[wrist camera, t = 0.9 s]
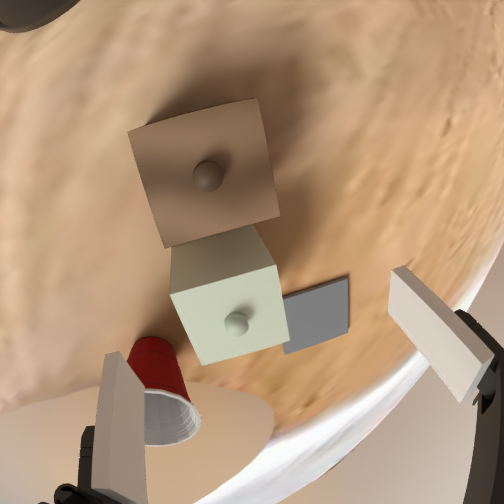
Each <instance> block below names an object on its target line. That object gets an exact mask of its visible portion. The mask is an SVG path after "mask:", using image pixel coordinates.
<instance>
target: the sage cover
mask: <svg viewBox="0 0 504 504" xmlns="http://www.w3.org/2000/svg"><path fill="white" fill-rule="evenodd" d="M170 297H171V299H172V301H173V304H174V306H175V308H176V311H177V313H178V315H179V317H180V320H181V322H182V324H183V326H184V328H185V331H186V333H187V335H188V337H189V339H190V341H191V344H192V346H193V348H194V350H195V352H196V354H197V356H198V358H199V360H200V362H201V364H202V366H203V365H207V364H211V363H215V362H219V361H222V360H226V359H230V358H233V357H237V356H241V355H244V354H248V353H251V352H255V351H258V350H261V349H265V348H268V347H271V346H274V345H278V344H281V343H284V342H287V341H290V338H289V332H288V326H287V321H286V315H285V309H284V304H283V298H282V293H281V287H280V282H279V276H278V271H277V265H276V263H275V261H274V260H273V258H272V256H271V254H270V253H269V251H268V249H267V248H266V246H265V244H264V242H263V241H262V239H261V237H260V236H259V234H258V232H257V230H256V229H255V227H254V225H253V224H252V225H248V226H245V227H241V228H237V229H234V230H230V231H226V232H223V233H219V234H216V235H212V236H209V237H205V238H202V239H198V240H195V241H191V242H188V243H184V244H181V245H177V246H174V247H172V251H171V271H170Z"/></svg>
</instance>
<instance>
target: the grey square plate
mask: <svg viewBox="0 0 504 504" xmlns="http://www.w3.org/2000/svg"><path fill="white" fill-rule="evenodd" d="M282 298H283V304H284V309H285V315H286V321H287V326H288V332H289V338H290V341H287V342H284V343H282V345H283V350H284V354H285V355H286V354H289V353H292V352H295V351H298V350H301V349H304V348H307V347H310V346H313V345H316V344H319V343H321V342H324V341H327V340H330V339H333V338H335V337H338V336H341V335H343V334H346V333H348V278H347V277H346V276H345V277H342V278H339V279H336V280H333V281H330V282H327V283H324V284H321V285H318V286H315V287H312V288H309V289H306V290H302V291H299V292H296V293H293V294H290V295H286V296H283V297H282Z"/></svg>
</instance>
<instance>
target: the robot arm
mask: <svg viewBox="0 0 504 504" xmlns="http://www.w3.org/2000/svg"><path fill="white" fill-rule="evenodd" d="M78 1H79V0H0V30H2V31H5V32H9V33H22V32H27V31H31V30H34V29H36V28H39V27H41V26H44V25H46V24H48V23H49V22H51V21H53V20H55V19H56V18H58V17H59V16H61V15H62V14H64V13H65V12H66V11H68V10H69V9H70V8H71V7H73V6H74V5H75V4H76V3H77V2H78ZM388 313H389V314H390V316H391V317H392V318H393V319H394V320H395V322H396V323H397V324H398V325H399V326H400V328H401V329H402V330H403V331H404V332H405V334H406V335H407V336H408V337H409V339H410V340H411V341H412V342H413V343H414V345H415V346H416V347H417V348H418V350H419V351H420V352H421V353H422V355H423V356H424V357H425V358H426V360H427V361H428V362H429V364H430V365H431V366H432V367H433V369H434V370H435V371H436V373H438V375H439V376H440V378H441V379H442V380H443V382H444V383H445V384H446V386H447V387H448V388H449V390H450V391H451V392H452V394H453V395H454V396H455V398H456V399H457V400H458V402H459V403H461V402H463V401H464V400H465V399H467V398H468V397H470V396H471V395H472V394H473V392H474V391H475V389H476V388H478V389H479V390H480V391H479V393H478V395H477V396H476V398H475V399H474V401H473V405H475V404H476V402H477V401H478V411H477V424H476V433H475V442H474V450H473V456H472V463H471V469H470V474H469V479H468V484H467V489H466V493H465V497H464V501H463V504H504V348H502V347H501V346H500V344H499V343H498V342H497V341H496V340H495V339H494V338H493V337H492V336H491V335H490V334H489V333H488V332H487V331H486V330H485V329H483V328H482V326H481V325H480V324H479V323H477V321H476V320H475V319H474V318H473V317H472V316H471V315H470V314H469V313H467V312H465V311H463V310H461V309H459V310H457V311H455V312H453V311H452V310H451V309H450V308H449V307H448V306H447V305H446V304H445V303H444V302H443V301H442V300H441V299H440V298H439V297H438V296H437V295H436V294H435V293H434V292H433V291H431V290H430V289H429V288H428V287H427V286H426V285H425V284H424V283H423V282H422V281H421V280H420V279H419V278H417V277H416V276H415V275H414V274H413V273H412V272H411V271H410V270H409V269H408V268H406V267H405V266H404V265H403V266H401V267H398V268H395V269H393V270H392V271H391V283H390V294H389V303H388ZM144 394H145V386H144V385H143V384H142V382H141V381H140V380H139V378H138V377H137V376H136V374H135V373H134V371H133V370H132V369H131V367H130V366H129V365H128V363H127V362H126V360H125V359H124V357H123V356H122V354H121V353H120V352H114V353H110V354H105V359H104V365H103V371H102V377H101V384H100V391H99V398H98V406H97V414H96V423H95V426H87V427H86V428H85V430H84V432H83V435H82V437H81V450H80V458H79V470H78V486H77V487H76V486H74V485H71V484H62V485H60V486H59V487H58V488H57V489H56V491H55V494H54V503H55V504H148V500H147V488H146V469H145V441H144ZM38 504H49V503H46V502H40V503H38Z"/></svg>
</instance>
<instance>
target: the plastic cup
mask: <svg viewBox="0 0 504 504" xmlns="http://www.w3.org/2000/svg"><path fill="white" fill-rule="evenodd" d="M127 363H128V365H129V366H130V367H131V369H132V370H133V371H134V373H135V374H136V376H137V377H138V378H139V380H140V381H141V382H142V384H143V385H144V386H145V394H144V441H145V446H157V447H164V446H169V445H175V444H179V443H182V442H184V441H186V440H188V439H190V438H192V437H193V436H194V435H195V433H196V432H197V431H198V430H199V429H200V424H201V416H200V414H199V413H198V411H197V409H196V408H195V406H194V404H192V403H191V401H190V398H189V397H188V394H187V391H186V387H185V384H184V381H183V377H182V374H181V370H180V367H179V366H178V362H177V358H176V354H175V352H174V350H173V348H172V346H171V344H169V343H168V342H167V341H166V340H164V339H161V338H158V337H150V336H149V337H144V338H141V339H139V340H138V341H136V342H135V344H134V345H133V347H132V349H131V351H130V354H129V357H128V360H127Z"/></svg>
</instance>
